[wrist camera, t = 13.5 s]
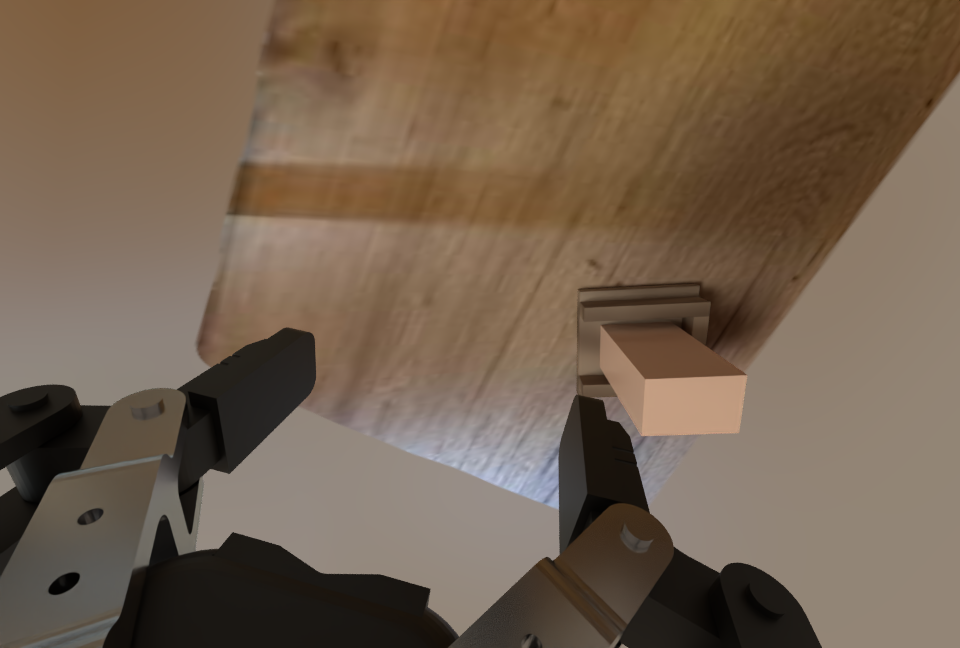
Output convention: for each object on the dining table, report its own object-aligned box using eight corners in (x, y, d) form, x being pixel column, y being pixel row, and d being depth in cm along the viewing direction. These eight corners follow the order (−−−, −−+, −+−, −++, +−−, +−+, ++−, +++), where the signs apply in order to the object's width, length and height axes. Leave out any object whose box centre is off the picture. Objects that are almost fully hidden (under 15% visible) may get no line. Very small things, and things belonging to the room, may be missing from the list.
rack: (577, 289, 34) (584, 297, 32) (694, 283, 34) (712, 291, 31) (576, 391, 37) (582, 406, 34) (683, 387, 37) (699, 403, 34)
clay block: (600, 325, 34) (645, 379, 24) (670, 321, 34) (747, 375, 23) (599, 366, 35) (641, 435, 25) (667, 363, 35) (738, 432, 24)
